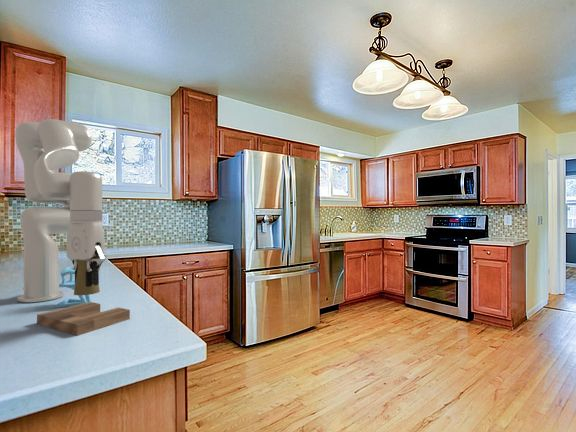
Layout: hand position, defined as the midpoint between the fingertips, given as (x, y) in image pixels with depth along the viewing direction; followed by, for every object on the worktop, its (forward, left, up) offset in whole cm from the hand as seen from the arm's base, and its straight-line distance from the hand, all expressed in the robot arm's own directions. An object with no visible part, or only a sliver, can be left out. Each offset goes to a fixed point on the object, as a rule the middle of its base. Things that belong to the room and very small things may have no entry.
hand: (86, 284), depth 87 cm
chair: (-20, +9, -10) cm, 24 cm away
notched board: (0, 0, -10) cm, 10 cm away
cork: (0, 0, -2) cm, 2 cm away
